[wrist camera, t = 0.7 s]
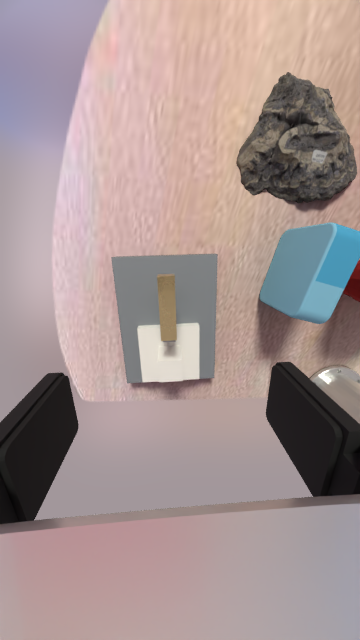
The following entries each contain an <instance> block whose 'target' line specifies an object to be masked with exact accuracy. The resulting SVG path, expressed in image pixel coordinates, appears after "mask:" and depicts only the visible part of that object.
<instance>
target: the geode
mask: <svg viewBox="0 0 360 640" xmlns="http://www.w3.org/2000/svg"><path fill="white" fill-rule="evenodd" d="M237 166H238V167H239V168H240V170H241V175H242V178H241V183H242V184H243V185H244V187H245V189H246V190H248V191H250V193H251V194H252V195H257V194H259V193H260V192H262V190H263V189H267V191H268V192H269V193H271V195H273V196H275V197H278V198H285V199H286V200H292V201H296V202H298V203H300V202H303V201H304V202H310V201H313V200H314V199H318V200H319V199H321V200H328V199H331V198H332V196H333V195H334V194H336V193H339V192H341V191H342V190H343V189H345V188H346V186H347V185H348V183H349V181H350V182H352V180H354V179H355V177H356V174H357V167H356V162H355V157H354V149H353V146H352V145H351V144H350V137H349V135H348V134H347V132H346V129H345V127H344V126H343V125H342V123H341V121H340V119H339V117H338V116H337V114H336V113H335V111H334V104H333V102H332V97H331V95H330V92H329V89H323V88H320V87H315V85H313V84H312V83H311V82H310V81H309V80H302V79H297V78H296V77H295V76H293V75H291V73H289V72H288V73H287V74H286V75H283V76H281V77H280V78H279V82H278V83H277V84H276V85H274V87H273V90H272V92H271V94H270V96H269V98H268V99H267V100H266V102H265V104H264V105H263V109H262V114H261V115H260V116H259V122H258V123H257V124H256V126H255V127H254V130H253V132H252V133H251V134H250V136H249V137H248V138H247V140H246V141H245V143H244V144H243V146H242V147H241V149H240V151H239V155H238V157H237Z"/></svg>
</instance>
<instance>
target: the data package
mask: <svg viewBox="0 0 360 640" xmlns="http://www.w3.org/2000/svg"><path fill="white" fill-rule="evenodd" d="M359 258H360V231H357V230H354V229H351V228H348V227H345V226H342V225H338V224H335V223H325V224H319V225H313V226H307V227H301V228H295V229H289V230H287V231H286V232H285V233H284V234H283V235H282V237H281V238H280V241H279V243H278V246H277V249H276V251H275V254H274V257H273V259H272V262H271V265H270V267H269V270H268V273H267V275H266V278H265V281H264V283H263V286H262V289H261V291H260V300H261V301H262V302H263V303H265V304H267V305H269V306H271V307H273V308H275V309H276V310H278V311H280V312H282V313H284V314H286V315H288V316H289V317H292V318H296V319H300V320H304V321H308V322H312V323H316V324H322V323H324V322H326V321H327V320H328V319H329V318H330V317H331V315H332V313H333V311H334V309H335V307H336V305H337V303H338V301H339V299H340V297H341V295H342V293H343V291H344V289H345V287H346V284H347V282H348V280H349V278H350V276H351V274H352V272H353V270H354V268H355V266H356V264H357V262H358V260H359Z"/></svg>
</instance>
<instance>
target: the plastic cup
mask: <svg viewBox="0 0 360 640" xmlns="http://www.w3.org/2000/svg"><path fill="white" fill-rule="evenodd" d="M343 293H344V294H346V295H348V296H350V297H352V298H353V299H355V300H357V301H359V302H360V260H359V261H358V262H357V264H356V266H355V268H354V270H353V272H352V274H351V276H350V278H349V280H348V282H347V284H346V287H345V289H344V291H343Z"/></svg>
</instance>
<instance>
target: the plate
mask: <svg viewBox="0 0 360 640" xmlns="http://www.w3.org/2000/svg"><path fill="white" fill-rule="evenodd" d="M111 258H112V266H113V274H114V282H115V290H116V298H117V306H118V313H119V321H120V329H121V337H122V345H123V353H124V361H125V369H126V377H127V383H140V382H142V372H141V362H140V352H139V341H138V331H137V328H138V326H143V325H160V316H159V300H158V284H157V275H158V274H174V275H175V299H176V324H185V323H198V324H199V379H204V378H214V366H215V329H216V291H217V254H189V255H157V256H125V257H111Z"/></svg>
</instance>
